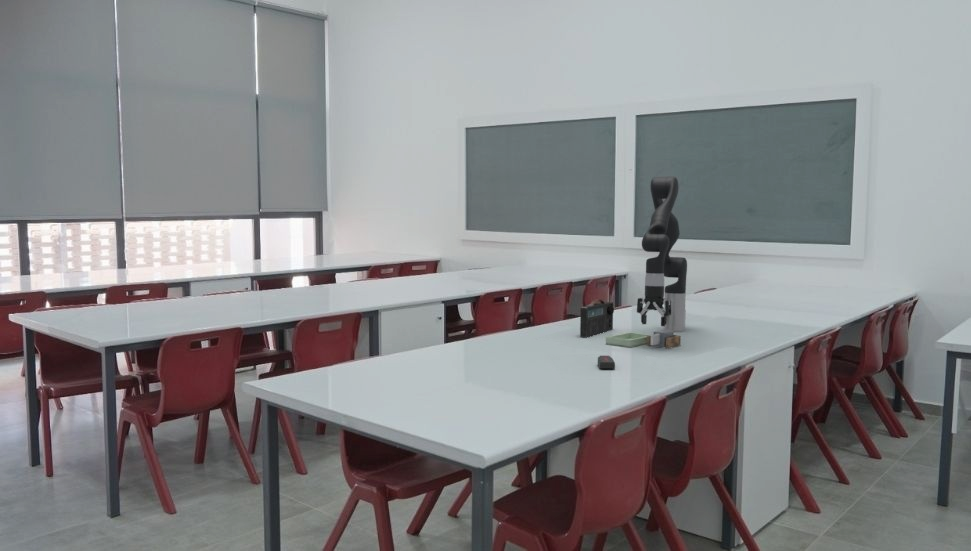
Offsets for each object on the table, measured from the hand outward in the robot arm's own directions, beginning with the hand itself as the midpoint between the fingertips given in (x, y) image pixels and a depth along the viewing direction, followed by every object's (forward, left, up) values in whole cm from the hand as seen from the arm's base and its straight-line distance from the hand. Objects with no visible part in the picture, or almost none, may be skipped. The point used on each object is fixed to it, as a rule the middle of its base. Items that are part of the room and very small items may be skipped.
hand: (653, 325), depth 314 cm
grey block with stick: (-8, 0, -9) cm, 12 cm away
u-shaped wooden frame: (-8, 0, -9) cm, 13 cm away
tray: (-3, -13, -9) cm, 16 cm away
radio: (-15, -37, -10) cm, 41 cm away
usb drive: (+40, +5, -10) cm, 42 cm away
